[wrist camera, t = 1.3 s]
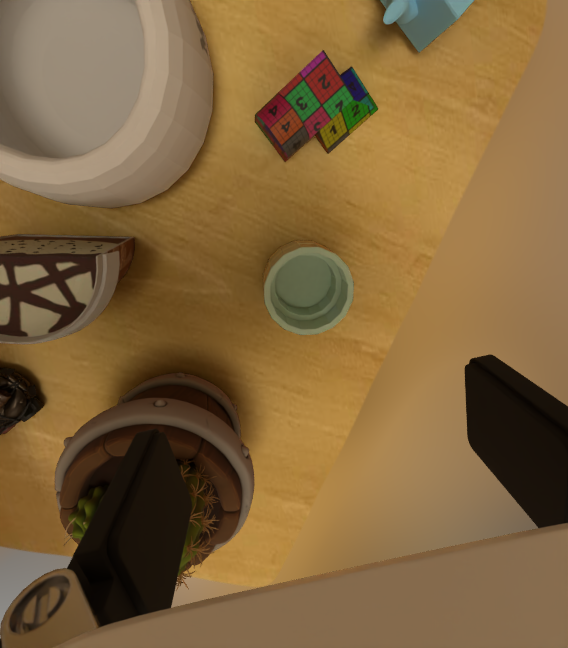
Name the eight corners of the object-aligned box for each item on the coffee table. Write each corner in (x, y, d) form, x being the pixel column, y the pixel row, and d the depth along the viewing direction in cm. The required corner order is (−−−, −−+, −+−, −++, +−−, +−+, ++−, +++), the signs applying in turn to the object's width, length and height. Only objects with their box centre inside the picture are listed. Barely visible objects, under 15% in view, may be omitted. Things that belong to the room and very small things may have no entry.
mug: (227, 203, 30) (214, 206, 21) (18, 211, 29) (-95, 219, 20) (196, -155, 23) (155, -400, 13) (-83, -159, 22) (-338, -427, 12)
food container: (14, 305, 32) (-88, 352, 22) (-2, 233, 30) (-122, 252, 20) (158, 306, 33) (119, 352, 23) (152, 237, 31) (106, 256, 21)
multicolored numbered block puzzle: (298, 179, 30) (305, 177, 26) (254, 121, 28) (254, 109, 24) (376, 110, 29) (397, 95, 24) (335, 45, 27) (350, 17, 23)
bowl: (263, 316, 34) (265, 336, 29) (261, 240, 31) (263, 247, 27) (338, 314, 34) (351, 333, 29) (341, 238, 32) (356, 246, 27)
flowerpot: (196, 497, 40) (144, 763, 21) (74, 421, 36) (-125, 669, 17) (286, 412, 37) (317, 632, 19) (165, 318, 33) (46, 481, 14)
